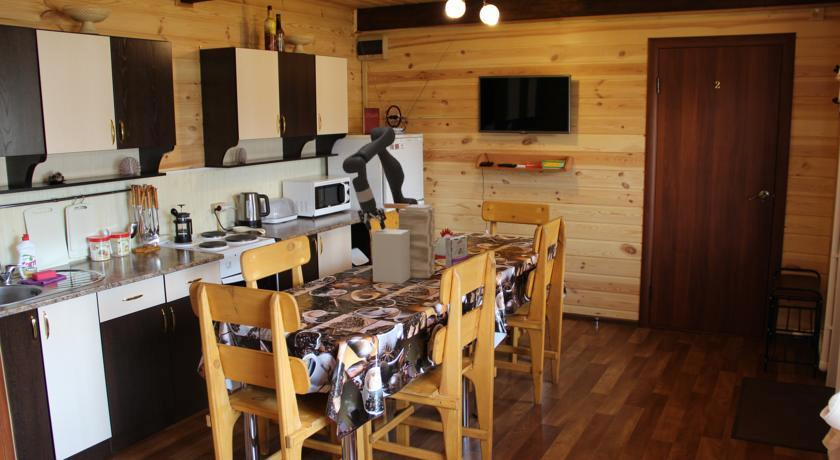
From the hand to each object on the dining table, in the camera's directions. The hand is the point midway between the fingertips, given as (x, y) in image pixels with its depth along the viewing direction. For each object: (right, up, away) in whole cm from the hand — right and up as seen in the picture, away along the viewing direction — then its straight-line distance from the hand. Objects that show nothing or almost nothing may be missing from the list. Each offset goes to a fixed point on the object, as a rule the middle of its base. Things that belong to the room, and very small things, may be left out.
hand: (376, 229), depth 349 cm
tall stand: (+19, -22, +9) cm, 30 cm away
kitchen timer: (+35, -15, +53) cm, 65 cm away
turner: (+15, +10, +5) cm, 19 cm away
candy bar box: (+38, -20, +19) cm, 48 cm away
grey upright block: (+7, -24, 0) cm, 25 cm away
